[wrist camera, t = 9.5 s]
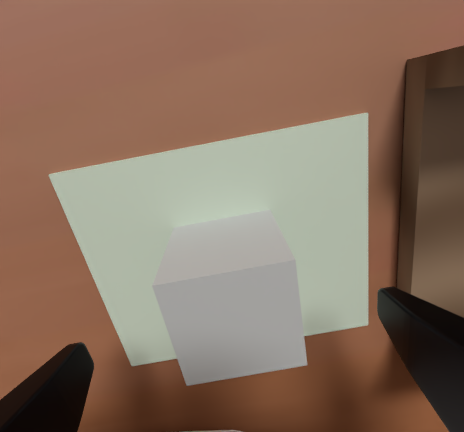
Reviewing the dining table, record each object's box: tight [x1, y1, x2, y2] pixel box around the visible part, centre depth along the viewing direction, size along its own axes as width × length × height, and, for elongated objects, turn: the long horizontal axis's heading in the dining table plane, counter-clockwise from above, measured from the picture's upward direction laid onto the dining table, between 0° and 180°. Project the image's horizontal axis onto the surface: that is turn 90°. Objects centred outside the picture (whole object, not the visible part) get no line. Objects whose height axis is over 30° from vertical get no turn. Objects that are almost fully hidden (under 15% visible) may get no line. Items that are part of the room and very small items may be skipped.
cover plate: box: [49, 113, 368, 386], centre depth 11 cm, size 10×12×5 cm
